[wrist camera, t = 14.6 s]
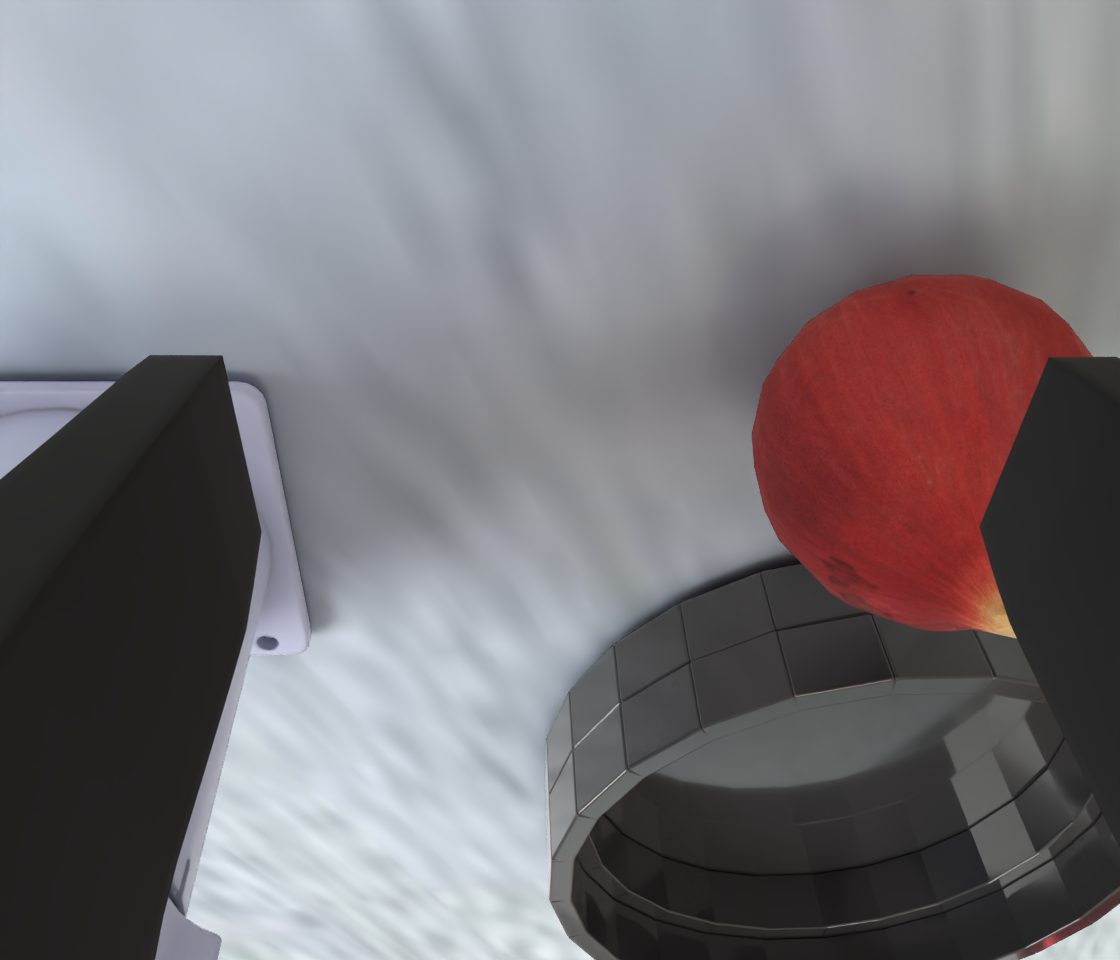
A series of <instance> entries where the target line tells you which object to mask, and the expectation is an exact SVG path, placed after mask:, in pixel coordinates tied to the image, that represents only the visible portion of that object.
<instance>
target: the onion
mask: <svg viewBox="0 0 1120 960" xmlns="http://www.w3.org/2000/svg"><path fill="white" fill-rule="evenodd" d="M1049 357H1093V356H1092V355H1091V353H1090V352H1089V351H1088V349H1087V348H1086V347H1085V345H1084V344H1083V343H1082V341H1081V340H1080V339H1079V337H1078V336H1077V335H1076V333H1075V332H1074V331H1073V329H1072V328H1071V327H1070V325H1069V324H1068V323H1067V322H1066V321H1065V320H1063V319H1062V318H1061V317H1060V316H1059V315H1058V314H1057V313H1056V312H1054V311H1053V310H1052V309H1051V308H1050V307H1049V306H1048V305H1046V304H1045V303H1044V302H1043V301H1042V300H1040V299H1037V298H1035V297H1032V296H1030V295H1027V294H1025V293H1022V292H1020V291H1017V290H1015V289H1012V288H1010V287H1008V286H1005V285H1003V284H1000V283H998V282H995V281H993V280H989V279H984V278H979V277H974V276H969V275H911V276H908V277H905V278H901V279H898V280H894V281H891V282H887V283H884V284H880V285H877V286H873V287H870V288H867V289H863V290H860V291H856V292H855V293H853V294H851V295H850V296H848V297H847V298H845V299H843V300H842V301H840V302H839V303H837V304H835V305H834V306H832V307H831V308H829V309H827V310H826V311H824V312H823V313H821V314H819V315H818V316H816V317H815V318H813V319H811V320H810V321H809V322H808V323H807V324H806V325H805V326H804V328H803V329H802V330H801V331H800V333H799V334H798V335H797V336H796V338H795V339H794V340H793V341H792V343H791V344H790V345H789V346H788V348H787V349H786V350H785V351H784V352H783V354H782V355H781V356H780V357H779V359H778V360H777V361H776V363H775V365H774V366H773V368H772V370H771V372H770V373H769V375H768V377H767V378H766V380H765V382H764V383H763V386H762V391H761V395H760V399H759V404H758V408H757V413H756V417H755V421H754V426H753V430H752V443H753V455H754V467H755V471H756V476H757V480H758V484H759V488H760V493H761V497H762V501H763V505H764V510H765V512H766V514H767V516H768V518H769V520H770V523H771V525H772V527H773V529H774V531H775V533H776V535H777V537H778V539H779V540H780V542H781V543H782V544H783V545H784V546H785V547H786V548H787V549H788V550H789V551H790V552H791V553H792V554H793V555H794V556H795V557H796V558H797V559H798V560H799V561H800V562H801V563H802V564H803V565H804V566H805V567H806V568H807V569H808V570H809V571H810V572H811V573H812V574H813V575H814V577H815V578H816V579H817V580H818V581H819V582H820V583H821V584H822V585H823V586H824V587H825V588H826V589H827V590H828V591H829V592H830V593H831V594H833V595H834V596H836V597H837V598H839V599H841V600H842V601H844V602H846V603H847V604H849V605H850V606H852V607H855V608H858V609H860V610H863V611H866V612H869V613H871V614H874V615H877V616H880V617H883V618H887V619H890V620H893V621H896V622H899V623H902V624H905V625H908V626H911V627H915V628H918V629H924V630H931V631H959V630H968V629H971V630H976V631H981V632H990V633H994V634H999V635H1003V636H1008V637H1012V638H1016V636H1015V633H1014V631H1013V629H1012V627H1011V625H1010V623H1009V620H1008V617H1007V614H1006V611H1005V608H1004V605H1003V602H1002V599H1001V596H1000V593H999V590H998V587H997V584H996V582H995V579H994V575H993V572H992V568H991V565H990V561H989V558H988V555H987V551H986V548H985V544H984V541H983V537H982V534H981V531H980V527H979V526H980V524H981V521H982V519H983V517H984V514H985V512H986V509H987V507H988V504H989V502H990V500H991V497H992V495H993V492H994V490H995V487H996V485H997V482H998V480H999V478H1000V475H1001V473H1002V470H1003V468H1004V465H1005V463H1006V460H1007V458H1008V456H1009V453H1010V451H1011V448H1012V446H1013V443H1014V441H1015V438H1016V436H1017V434H1018V431H1019V429H1020V426H1021V424H1022V421H1023V419H1024V417H1025V414H1026V412H1027V409H1028V407H1029V404H1030V402H1031V399H1032V397H1033V395H1034V392H1035V390H1036V387H1037V385H1038V382H1039V380H1040V377H1041V375H1042V373H1043V370H1044V368H1045V365H1046V363H1047V360H1048V358H1049Z"/></svg>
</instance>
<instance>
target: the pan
mask: <svg viewBox="0 0 1120 960" xmlns="http://www.w3.org/2000/svg"><path fill="white" fill-rule="evenodd" d="M545 797H546V825H547V853H548V881H549V900H550V902H551V904H552V906H553V908H554V910H555V912H556V914H557V916H558V918H559V920H560V922H561V924H562V926H563V928H564V930H565V932H566V934H567V936H568V937H569V938H570V939H571V940H572V941H573V942H574V943H576V944H577V945H578V946H579V947H580V948H582V949H583V950H584V951H585V952H586V953H588V954H589V955H590V956H591V957H592V958H594V959H595V960H1020V959H1022V958H1025V957H1028V956H1030V955H1033V954H1035V953H1038V952H1040V951H1042V950H1044V949H1046V948H1048V947H1050V946H1051V945H1053V944H1055V943H1057V942H1059V941H1061V940H1063V939H1065V938H1067V937H1068V936H1070V935H1072V934H1074V933H1076V932H1078V931H1080V930H1082V929H1084V928H1086V927H1087V926H1089V925H1091V924H1093V923H1094V922H1096V921H1098V920H1099V919H1100V918H1101V917H1103V916H1104V915H1105V914H1107V913H1108V912H1109V911H1111V910H1112V909H1113V908H1115V907H1116V906H1117V905H1118V904H1120V850H1119V847H1118V845H1117V843H1116V840H1115V838H1114V836H1113V834H1112V832H1111V830H1110V828H1109V826H1108V824H1107V822H1106V820H1105V818H1104V816H1103V814H1102V812H1101V810H1100V808H1099V806H1098V804H1097V802H1096V800H1095V798H1094V796H1093V794H1092V792H1091V790H1090V788H1089V786H1088V784H1087V782H1086V780H1085V778H1084V776H1083V773H1082V771H1081V769H1080V767H1079V765H1078V763H1077V761H1076V759H1075V757H1074V755H1073V753H1072V751H1071V749H1070V747H1069V745H1068V743H1067V741H1066V739H1065V737H1064V735H1063V733H1062V731H1061V729H1060V727H1059V725H1058V723H1057V721H1056V719H1055V717H1054V715H1053V713H1052V711H1051V709H1050V707H1049V705H1048V703H1047V701H1046V699H1045V696H1044V694H1043V692H1042V690H1041V688H1040V686H1039V684H1038V682H1037V680H1036V678H1035V676H1034V674H1033V671H1032V669H1031V667H1030V665H1029V663H1028V661H1027V659H1026V657H1025V655H1024V653H1023V651H1022V649H1021V647H1020V644H1019V642H1018V640H1017V638H1012V637H1008V636H1003V635H999V634H994V633H990V632H981V631H976V630H971V629H968V630H959V631H931V630H924V629H918V628H915V627H911V626H908V625H905V624H902V623H899V622H896V621H893V620H890V619H887V618H883V617H880V616H877V615H874V614H871V613H869V612H866V611H863V610H860V609H858V608H855V607H852V606H850V605H849V604H847V603H846V602H844V601H842V600H841V599H839V598H837V597H836V596H834V595H833V594H831V593H830V592H829V591H828V590H827V589H826V588H825V587H824V586H823V585H822V584H821V583H820V582H819V581H818V580H817V579H816V578H815V577H814V575H813V574H812V573H811V572H810V571H809V570H808V569H807V568H806V567H805V566H804V565H803V564H797V565H791V566H786V567H781V568H776V569H771V570H765V571H762V572H761V573H756V574H753V575H751V576H748V577H745V578H743V579H740V580H738V581H735V582H732V583H730V584H727V585H725V586H722V587H719V588H717V589H714V590H712V591H709V592H706V593H704V594H701V595H699V596H696V597H693V598H691V599H688V600H686V601H683V602H681V603H680V604H677V605H675V606H673V607H672V608H670V609H669V610H667V611H666V612H664V613H662V614H661V615H659V616H658V617H656V618H654V619H653V620H651V621H650V622H648V623H647V624H645V625H643V626H642V627H640V628H639V629H637V630H635V631H634V632H632V633H631V634H629V635H628V636H626V637H624V638H623V639H621V640H620V641H618V642H616V643H615V645H612V647H611V648H610V649H609V650H608V651H607V652H606V653H605V654H604V655H603V656H602V657H601V658H600V659H599V660H598V661H597V662H596V663H595V664H594V665H593V666H592V667H591V668H590V669H589V670H588V671H587V672H586V673H585V675H584V676H583V677H582V678H581V679H580V680H579V681H578V682H577V683H576V684H575V685H574V686H573V687H572V688H571V689H570V691H569V692H568V694H567V696H566V698H565V700H564V703H563V705H562V707H561V709H560V711H559V713H558V715H557V717H556V719H555V721H554V723H553V725H552V728H551V730H550V732H549V734H548V736H547V738H546V763H545Z"/></svg>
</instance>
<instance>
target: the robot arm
mask: <svg viewBox="0 0 1120 960" xmlns="http://www.w3.org/2000/svg"><path fill="white" fill-rule="evenodd" d="M979 527H980V531H981V534H982V537H983V541H984V544H985V548H986V551H987V555H988V558H989V561H990V565H991V568H992V572H993V575H994V579H995V582H996V584H997V587H998V590H999V593H1000V596H1001V599H1002V602H1003V605H1004V608H1005V611H1006V614H1007V617H1008V620H1009V623H1010V625H1011V627H1012V629H1013V631H1014V633H1015V636H1016V638H1017V640H1018V642H1019V644H1020V647H1021V649H1022V651H1023V653H1024V655H1025V657H1026V659H1027V661H1028V663H1029V665H1030V667H1031V669H1032V671H1033V674H1034V676H1035V678H1036V680H1037V682H1038V684H1039V686H1040V688H1041V690H1042V692H1043V694H1044V696H1045V699H1046V701H1047V703H1048V705H1049V707H1050V709H1051V711H1052V713H1053V715H1054V717H1055V719H1056V721H1057V723H1058V725H1059V727H1060V729H1061V731H1062V733H1063V735H1064V737H1065V739H1066V741H1067V743H1068V745H1069V747H1070V749H1071V751H1072V753H1073V755H1074V757H1075V759H1076V761H1077V763H1078V765H1079V767H1080V769H1081V771H1082V773H1083V776H1084V778H1085V780H1086V782H1087V784H1088V786H1089V788H1090V790H1091V792H1092V794H1093V796H1094V798H1095V800H1096V802H1097V804H1098V806H1099V808H1100V810H1101V812H1102V814H1103V816H1104V818H1105V820H1106V822H1107V824H1108V826H1109V828H1110V830H1111V832H1112V834H1113V836H1114V838H1115V840H1116V843H1117V845H1118V847H1119V850H1120V359H1119V358H1117V357H1049V358H1048V360H1047V363H1046V365H1045V368H1044V370H1043V373H1042V375H1041V377H1040V380H1039V382H1038V385H1037V387H1036V390H1035V392H1034V395H1033V397H1032V399H1031V402H1030V404H1029V407H1028V409H1027V412H1026V414H1025V417H1024V419H1023V421H1022V424H1021V426H1020V429H1019V431H1018V434H1017V436H1016V438H1015V441H1014V443H1013V446H1012V448H1011V451H1010V453H1009V456H1008V458H1007V460H1006V463H1005V465H1004V468H1003V470H1002V473H1001V475H1000V478H999V480H998V482H997V485H996V487H995V490H994V492H993V495H992V497H991V500H990V502H989V504H988V507H987V509H986V512H985V514H984V517H983V519H982V521H981V524H980V526H979ZM266 636H270V637H273V638H270V637H266ZM310 638H311V627H310V622H309V617H308V612H307V607H306V602H305V597H304V592H303V587H302V582H301V576H300V571H299V566H298V561H297V556H296V551H295V546H294V541H293V536H292V530H291V525H290V520H289V515H288V510H287V505H286V500H285V495H284V490H283V485H282V479H281V474H280V469H279V464H278V459H277V454H276V449H275V444H274V439H273V433H272V428H271V423H270V418H269V413H268V408H267V403H266V400H265V398H264V396H263V394H262V393H261V392H260V391H259V390H258V389H257V388H256V387H254V386H252V385H250V384H248V383H243V382H237V381H228V378H227V374H226V369H225V365H224V360H223V356H204V355H150V356H148V357H147V358H146V359H144V360H143V361H142V362H140V363H139V364H138V365H136V366H135V367H134V368H132V369H131V370H130V371H129V372H127V373H126V374H125V375H124V376H122V377H121V378H120V379H119V380H118V381H0V960H218V955H219V950H220V946H221V941H222V940H221V938H220V936H219V935H217V934H215V933H213V932H210V931H208V930H206V929H203V928H201V927H199V926H198V925H196V924H194V923H193V922H191V921H189V920H188V919H187V918H186V915H187V911H188V907H189V903H190V898H191V894H192V890H193V886H194V882H195V878H196V874H197V870H198V866H199V862H200V857H201V853H202V849H203V845H204V841H205V837H206V833H207V829H208V825H209V821H210V817H211V812H212V808H213V804H214V800H215V796H216V792H217V788H218V784H219V780H220V776H221V771H222V767H223V763H224V759H225V755H226V751H227V747H228V743H229V739H230V735H231V731H232V726H233V722H234V718H235V714H236V710H237V706H238V702H239V698H240V694H241V690H242V685H243V681H244V677H245V673H246V669H247V665H248V661H249V657H250V655H293V654H299V653H301V652H303V651H305V650H306V649H307V648H308V647H309V643H310Z"/></svg>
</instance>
